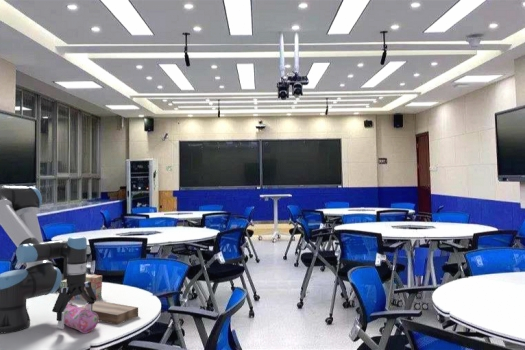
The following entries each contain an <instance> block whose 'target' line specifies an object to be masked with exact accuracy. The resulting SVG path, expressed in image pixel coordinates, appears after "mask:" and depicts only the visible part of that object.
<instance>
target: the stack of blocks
mask: <svg viewBox="0 0 525 350" xmlns="http://www.w3.org/2000/svg"><path fill="white" fill-rule="evenodd" d="M66 281H67V279H66V280H63V281H61V284H60V288H61V287H63V288H66V287H67V282H66ZM86 281H87V282H91V287H92V289H93V292H94V294H95V296H96V299H97V300H99V299H101V298H102V290H103V288H102V287H103V275H99V274H86ZM86 281H85V282H86ZM84 290H85V291H86V293H87V290H86V288H84ZM66 293H67V292H66ZM87 294H88V293H87ZM69 295H70V294H69ZM64 298H65V297H64ZM70 300H82V301H83V300H84V301H86V300H85V299H84V298H83V297H82V296H81V295H76V296H73V297H72V298H71V299H70Z"/></svg>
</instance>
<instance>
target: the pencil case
mask: <svg viewBox="0 0 525 350" xmlns="http://www.w3.org/2000/svg"><path fill="white" fill-rule="evenodd" d="M80 307H81V306H78V305H77V304H75V303H73V302H68V304H67V306H66V307H65V309H64V310H63V312H64V326H65V325H66V327H69V328H72V329H74V330H77V331H79V332H81V333H83V334H88V333H90V332H92V331H93V330H94V329H95V328H96V327H97V326H98V323H99V322H100V321H99V317H98V315H97V314H96V313H95V312H93V311H90V310H86V309H83V308H80Z"/></svg>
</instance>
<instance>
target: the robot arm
mask: <svg viewBox="0 0 525 350" xmlns="http://www.w3.org/2000/svg"><path fill="white" fill-rule="evenodd" d="M42 203H43V196H42V193H41V192H40V190H39V189H38V188H36V187H34V186H27V185H0V226H1V227H2V229H3V230H4V232H5V233H6V234H7V235H8V237H9V238H10V239H11V241H12V242H13V244H14V245H15V247H16V250H15V256H16V260H17V261H18V262H19V263H20V264H25V263H26V266H25V269H15V270H9V271H8V270H7V271H5V272H2V273H0V334H8V333H14V332H18V331H22V330H24V329H27V328H28V327H30V325H31V318H30V315H29V312H28V309H27V300H29V299H34V298H37V297H42V296H47V295H50V294H54V293H56V292H58V291H57V290H58V288H59V286H60V284H61V279H62V276H61V274H62V272H61V269H59V268H58V267H56V266H54V264H53V262H52V261H50V260H56V259H60V258H61V259H64V258H67V273H68V274H67V281H66V282H67V287H66V288H63V287H61V288H60V291H59V293H58V296H57V298H56V300H55V302H54V306H53V307H52V310H51V312H53V313H56V321H57V329H60V330H61V329H62V330H64V329H65V324H64V312H63V310H64V309H65V307H66V306H67V304H68V303H70V301H71V300H72V299H71V298H72V297H73V296H76V295H81V296H82V297H83V298H84V299H85V300H84V301H86V303H85V305H86V310H90V311H92V304H94V303H95V302H97V300H98V299H96V296H95V294H94V292H93V289H92V287H91V282H87V281H86V275H87V273H86V272H87V254H88V252H87V250H88V245H87V243H88V241H87V238H86V237H85V236H71V237H68V238H67V240H66V239H65V240H63V239H55V240H51V241H44V239H43V234H42V231H41V227H40V223H39V219H38V213H39V211H40V208H41V207H42ZM85 281H86V282H85ZM84 288H86V290H87V293H88V294H87V293H86V291H85V290H84ZM66 292H67V293H66ZM69 294H70V295H69ZM64 297H65V298H64Z"/></svg>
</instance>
